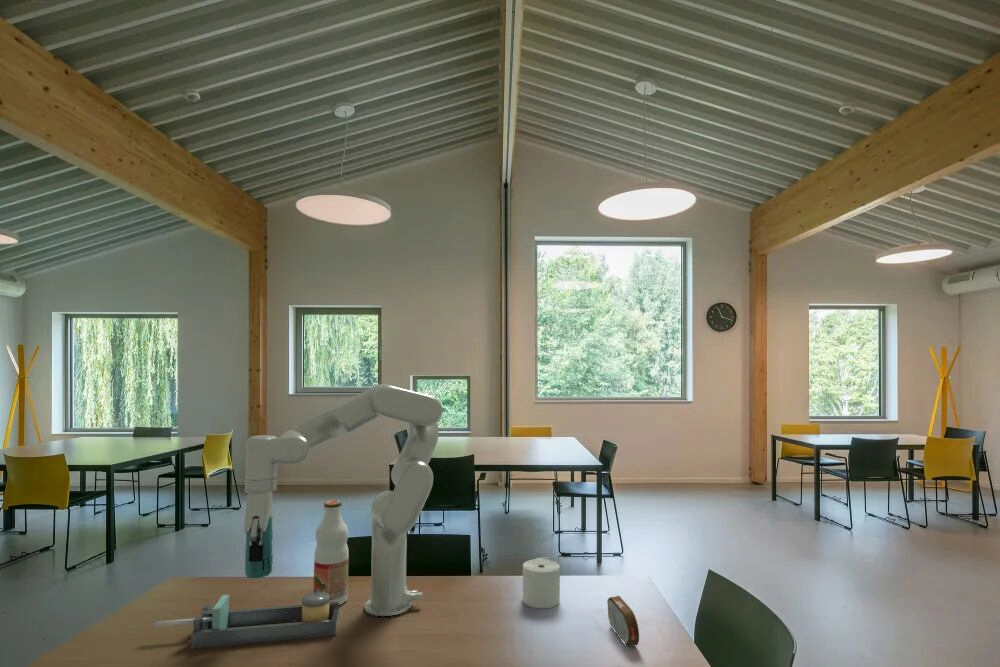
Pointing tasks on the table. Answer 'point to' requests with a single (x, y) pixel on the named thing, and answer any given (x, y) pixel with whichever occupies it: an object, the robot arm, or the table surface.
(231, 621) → the lane
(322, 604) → the jar
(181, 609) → the table surface
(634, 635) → the tin
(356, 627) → the table surface
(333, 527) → the fruit juice
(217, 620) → the pusher
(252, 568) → the beverage bottle
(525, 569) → the toilet tissue
